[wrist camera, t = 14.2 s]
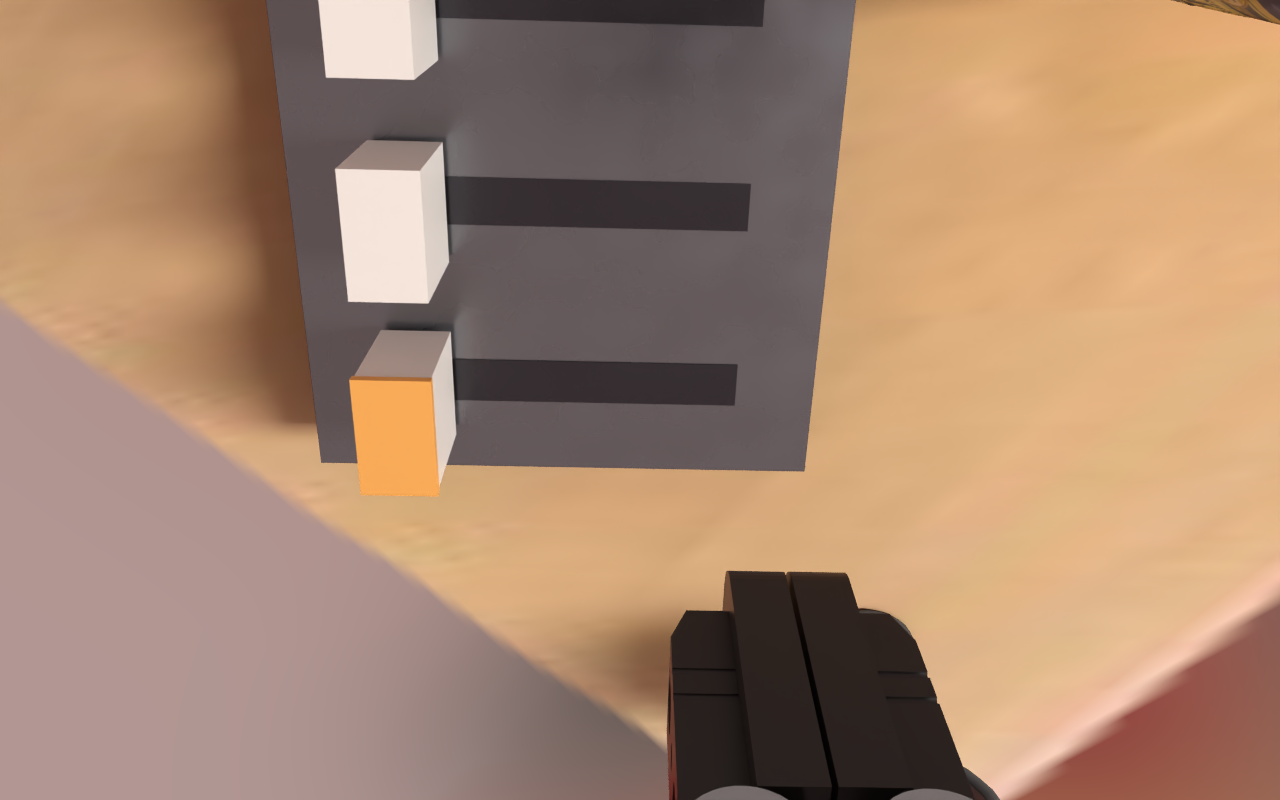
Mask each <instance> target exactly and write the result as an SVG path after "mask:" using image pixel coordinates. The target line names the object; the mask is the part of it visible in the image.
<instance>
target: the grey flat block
mask: <svg viewBox="0 0 1280 800" xmlns="http://www.w3.org/2000/svg"><path fill="white" fill-rule="evenodd" d="M855 3H856V0H435V11H436V30H437V48H438V61H437V62H435V63H434V64H433V65H432V66H431V67H429V68H428V69H427V70H426V71H424V72H423V73H422V74H421V75H420V76H418V77H417V78H416V79H415V80H399V79H361V78H326V73H325V63H324V52H323V42H322V32H321V22H320V12H319V2H318V0H266V4H267V12H268V20H269V29H270V37H271V46H272V54H273V62H274V71H275V79H276V87H277V96H278V104H279V112H280V121H281V129H282V138H283V146H284V154H285V163H286V171H287V179H288V188H289V196H290V205H291V213H292V221H293V230H294V238H295V246H296V255H297V263H298V272H299V280H300V288H301V297H302V305H303V313H304V322H305V330H306V338H307V347H308V355H309V364H310V372H311V380H312V389H313V397H314V405H315V414H316V422H317V431H318V439H319V447H320V456H321V463H358V461H357V452H356V442H355V432H354V422H353V412H352V403H351V393H350V383H349V380H350V378H351V376H355V374H356V372H357V370H358V369H359V367H360V365H361V363H362V362H363V360H364V358H365V357H366V355H367V353H368V351H369V350H370V348H371V346H372V344H373V343H374V341H375V339H376V338H377V336H378V334H379V332H380V331H381V330H402V331H449V332H451V348H452V366H453V385H454V403H455V421H456V436H455V440H454V443H453V446H452V449H451V452H450V455H449V458H448V461H447V464H446V465H484V466H538V467H592V468H646V469H700V470H755V471H804V470H805V460H806V451H807V442H808V433H809V424H810V415H811V405H812V396H813V387H814V378H815V369H816V360H817V351H818V341H819V332H820V323H821V314H822V305H823V296H824V287H825V277H826V268H827V259H828V250H829V241H830V232H831V222H832V213H833V204H834V195H835V186H836V177H837V168H838V158H839V149H840V140H841V131H842V122H843V113H844V104H845V94H846V85H847V76H848V67H849V58H850V49H851V39H852V30H853V21H854V12H855ZM366 140H384V141H423V142H443V159H444V178H445V196H446V215H447V233H448V252H449V263H448V265H447V267H446V269H445V271H444V273H443V275H442V277H441V279H440V281H439V283H438V285H437V287H436V289H435V291H434V293H433V295H432V297H431V299H430V301H429V303H382V302H348V294H347V284H346V274H345V264H344V254H343V244H342V234H341V224H340V214H339V204H338V194H337V183H336V173H335V168H337V167H338V166H339V165H340V164H341V163H342V162H343V161H344V160H345V159H347V158H348V157H349V156H350V155H351V154H352V153H353V152H354V151H355V150H357V149H358V148H359V147H360V146H361V145H362V144H363V143H364V142H365V141H366Z"/></svg>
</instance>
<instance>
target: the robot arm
mask: <svg viewBox="0 0 1280 800" xmlns="http://www.w3.org/2000/svg"><path fill="white" fill-rule="evenodd" d="M667 750H668V778H669V779H668V780H669V800H975V798H974V795H973V793H972V790H971V787H970V784H969V782H968V779H967V776H966V774H965V771H964V768H963V766H962V763H961V760H960V758H959V755H958V752H957V750H956V747H955V744H954V742H953V739H952V736H951V734H950V731H949V728H948V726H947V723H946V720H945V718H944V715H943V712H942V710H941V707H940V704H937V696H936V694H935V691H934V688H933V685H932V683H931V680H930V678H928V677H927V669H926V667H925V664H924V661H923V659H922V656H921V653H920V651H919V648H918V645H917V643H916V641H915V640H914V639H913V637H912V636H911V635H910V634H909V633H908V632H907V631H906V630H905V629H904V628H903V627H902V626H901V625H900V624H899V623H898V622H897V621H896V620H895V619H894V618H893V617H892V616H891V615H890V614H875V613H859V610H858V606H857V603H856V600H855V597H854V593H853V590H852V587H851V584H850V581H849V578H848V576H847V574H846V573H827V572H787V574H786V575H785V573H784V572H758V571H727V572H726V576H725V584H724V598H723V611H688V610H686V612H685V614H684V615H683V617H682V619H681V621H680V622H679V624H678V626H677V627H676V629H675V631H674V632H673V634H672V636H671V645H670V668H669V692H668V715H667Z"/></svg>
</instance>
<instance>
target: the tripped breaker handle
mask: <svg viewBox="0 0 1280 800" xmlns="http://www.w3.org/2000/svg"><path fill="white" fill-rule="evenodd" d="M349 383H350V393H351V403H352V412H353V422H354V432H355V442H356V452H357V461H358V471H359V481H360V491H361V495H388V496H438V495H439V492H440V489H439V486H440V483H441V480H442V477H443V474H444V470H445V467H446V464H447V461H448V458H449V455H450V452H451V449H452V446H453V443H454V440H455V436H456V421H455V403H454V385H453V366H452V348H451V332H449V331H402V330H381V331H380V332H379V334H378V336H377V338H376V339H375V341H374V343H373V344H372V346H371V348H370V350H369V351H368V353H367V355H366V357H365V358H364V360H363V362H362V363H361V365H360V367H359V369H358V370H357V372H356V374H355V376H351V378H350V380H349Z"/></svg>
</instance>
